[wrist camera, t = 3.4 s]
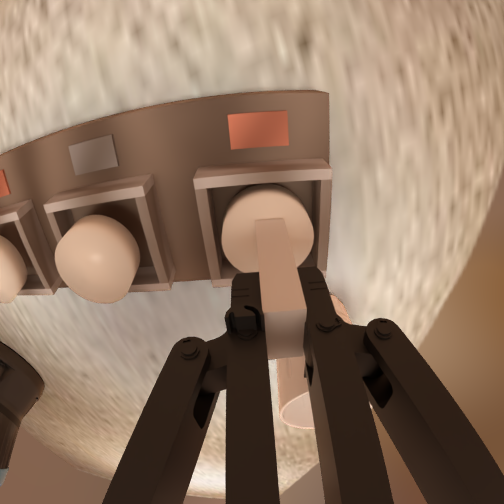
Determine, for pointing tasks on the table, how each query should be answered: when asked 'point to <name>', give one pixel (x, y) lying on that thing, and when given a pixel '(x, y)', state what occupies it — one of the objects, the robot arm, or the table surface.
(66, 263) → the button mid
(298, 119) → the panel
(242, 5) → the table surface
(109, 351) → the table surface
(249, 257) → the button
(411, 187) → the table surface
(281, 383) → the tan paper cup
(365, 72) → the table surface
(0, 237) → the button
